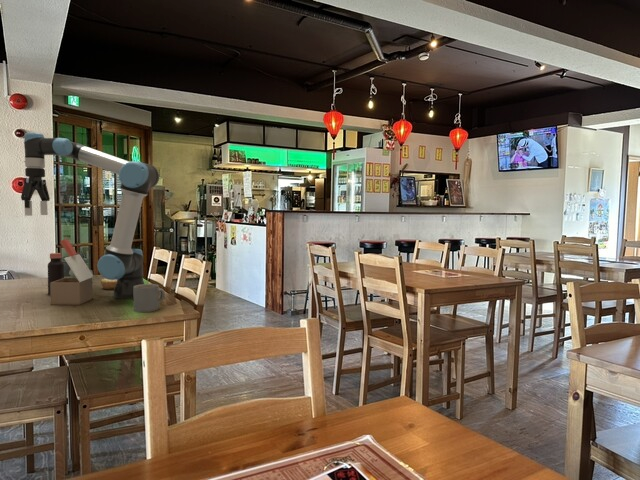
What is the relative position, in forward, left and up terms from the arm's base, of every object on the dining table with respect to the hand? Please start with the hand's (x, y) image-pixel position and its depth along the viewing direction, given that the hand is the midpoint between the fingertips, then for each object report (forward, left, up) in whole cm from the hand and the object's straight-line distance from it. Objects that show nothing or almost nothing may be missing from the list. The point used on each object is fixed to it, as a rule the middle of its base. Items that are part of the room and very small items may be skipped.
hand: (36, 215), depth 204 cm
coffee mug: (-55, +21, -39) cm, 71 cm away
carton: (-17, +6, -39) cm, 43 cm away
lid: (-18, +6, -20) cm, 28 cm away
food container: (-7, -25, -39) cm, 47 cm away
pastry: (-23, -29, -39) cm, 54 cm away
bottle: (-2, -12, -39) cm, 41 cm away
